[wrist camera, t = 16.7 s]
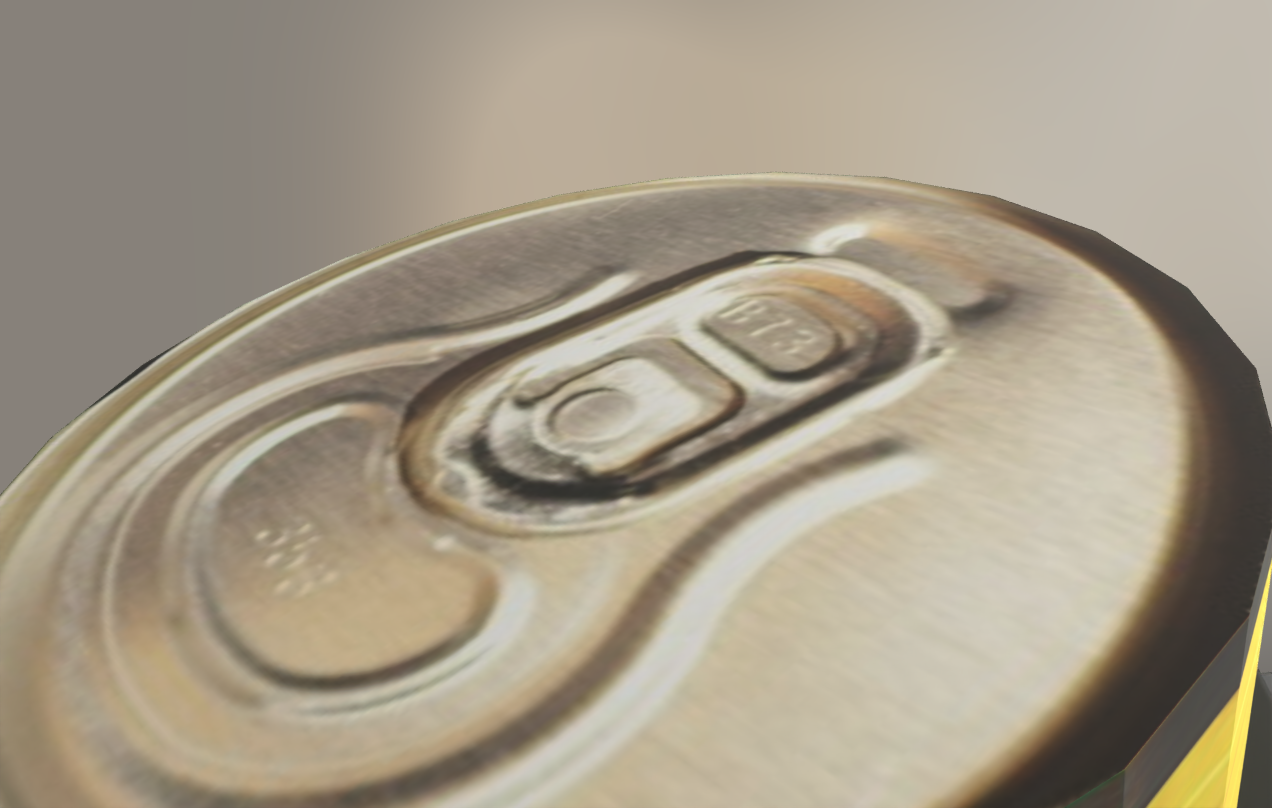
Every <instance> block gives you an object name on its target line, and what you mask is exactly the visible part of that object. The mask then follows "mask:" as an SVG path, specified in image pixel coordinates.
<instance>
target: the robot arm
mask: <svg viewBox="0 0 1272 808" xmlns="http://www.w3.org/2000/svg"><path fill="white" fill-rule="evenodd" d="M1237 808H1272V673H1271V672H1270V673H1260V671H1259V669H1258V667H1257V672H1256V679H1255V686H1254V693H1253V700H1252V706H1251V713H1250V720H1249V727H1248V734H1247V740H1246V747H1245V754H1244V761H1243V768H1242V775H1241V781H1240V788H1239V795H1238V802H1237Z"/></svg>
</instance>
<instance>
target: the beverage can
mask: <svg viewBox="0 0 1272 808" xmlns="http://www.w3.org/2000/svg"><path fill="white" fill-rule="evenodd" d="M1271 570H1272V427H1271V423H1270V420H1269V416H1268V412H1267V408H1266V404H1265V401H1264V397H1263V393H1262V389H1261V385H1260V381H1259V378H1258V374H1257V370H1256V368H1255V367H1254V366H1253V364H1252V363H1251V362H1250V361H1249V360H1248V358H1247V357H1246V356H1245V355H1244V354H1243V353H1242V351H1241V350H1240V349H1239V348H1238V347H1237V346H1236V344H1235V343H1234V342H1233V341H1232V340H1231V338H1230V337H1229V336H1228V335H1227V334H1226V332H1224V330H1223V329H1222V328H1221V327H1220V325H1219V324H1218V323H1217V322H1216V321H1215V319H1214V318H1213V317H1212V316H1211V315H1210V314H1209V312H1208V311H1207V310H1206V309H1205V308H1204V307H1203V305H1202V304H1201V303H1200V302H1199V301H1198V299H1197V298H1196V297H1195V296H1194V295H1193V294H1192V292H1191V291H1190V290H1189V289H1188V288H1187V287H1186V286H1184V285H1182V284H1181V283H1179V282H1178V281H1176V280H1174V279H1173V278H1171V277H1169V276H1168V275H1166V274H1165V273H1163V272H1161V271H1160V270H1158V269H1156V268H1154V267H1153V266H1152V265H1150V264H1148V263H1146V262H1145V261H1143V260H1142V259H1140V258H1139V257H1137V256H1135V255H1133V254H1132V253H1130V252H1129V251H1127V250H1125V249H1124V248H1122V247H1121V246H1119V245H1117V244H1116V243H1114V242H1112V241H1111V240H1109V239H1108V238H1106V237H1104V236H1103V235H1101V234H1099V233H1098V232H1096V231H1093V230H1090V229H1087V228H1085V227H1082V226H1079V225H1076V224H1073V223H1070V222H1067V221H1064V220H1061V219H1058V218H1055V217H1053V216H1050V215H1047V214H1044V213H1041V212H1038V211H1035V210H1032V209H1030V208H1026V207H1023V206H1021V205H1018V204H1015V203H1012V202H1009V201H1006V200H1003V199H1001V198H997V197H995V196H990V195H985V194H979V193H973V192H967V191H962V190H956V189H950V188H945V187H938V186H933V185H927V184H922V183H916V182H910V181H905V180H899V179H893V178H887V177H871V176H850V175H829V174H808V173H787V172H767V173H749V174H732V175H715V176H697V177H681V178H665V179H659V180H653V181H646V182H640V183H633V184H627V185H620V186H614V187H607V188H600V189H594V190H587V191H580V192H574V193H567V194H561V195H556V196H552V197H548V198H544V199H540V200H536V201H532V202H528V203H524V204H520V205H515V206H511V207H507V208H503V209H499V210H495V211H491V212H487V213H483V214H479V215H475V216H471V217H467V218H463V219H459V220H455V221H451V222H448V223H445V224H442V225H440V226H436V227H434V228H431V229H428V230H425V231H422V232H419V233H416V234H413V235H411V236H407V237H405V238H402V239H399V240H396V241H393V242H390V243H388V244H384V245H381V246H378V247H376V248H373V249H370V250H367V251H364V252H361V253H358V254H356V255H352V256H350V257H347V258H344V259H342V260H340V261H338V262H336V263H333V264H331V265H329V266H327V267H325V268H322V269H320V270H318V271H316V272H314V273H311V274H309V275H307V276H305V277H303V278H301V279H299V280H296V281H294V282H292V283H290V284H287V285H285V286H283V287H281V288H279V289H277V290H274V291H272V292H270V293H268V294H266V295H263V296H261V297H259V298H257V299H255V300H253V301H250V302H248V303H246V304H244V305H242V306H240V307H238V308H237V309H235V310H233V311H232V312H230V313H228V314H227V315H225V316H223V317H222V318H220V319H218V320H217V321H215V322H213V323H212V324H210V325H209V326H207V327H205V328H203V329H202V330H200V331H198V332H196V333H195V334H193V335H192V336H190V337H188V338H186V339H185V340H183V341H182V342H180V343H178V344H176V345H175V346H173V347H171V348H170V349H168V350H166V351H165V352H163V353H161V354H160V355H158V356H156V357H155V358H153V359H151V360H150V361H148V362H146V363H145V364H143V365H142V366H140V367H139V368H138V369H137V370H135V371H134V372H133V373H132V374H131V375H129V376H128V377H127V378H125V379H124V380H123V381H122V382H121V383H119V384H118V385H117V386H115V387H114V388H113V389H111V390H110V391H109V392H108V393H106V394H105V395H104V396H103V397H101V398H100V399H99V400H98V401H96V402H95V403H94V404H93V405H91V406H90V407H89V408H88V409H86V410H85V411H84V412H83V413H81V414H80V415H79V416H77V417H76V418H75V419H74V420H73V421H71V422H70V423H69V424H67V425H66V426H65V427H64V428H63V429H61V430H60V431H59V432H57V433H56V434H55V435H54V436H52V437H51V438H50V439H49V440H48V441H47V443H46V444H45V445H44V446H43V447H42V448H41V449H40V451H39V452H38V453H37V454H36V455H35V456H34V457H33V459H32V460H31V461H30V462H29V463H28V464H27V465H26V467H24V469H23V470H22V471H21V472H20V473H19V474H18V475H17V477H16V478H15V479H14V480H13V481H12V482H11V483H10V484H9V486H8V487H7V488H6V489H5V490H4V491H3V493H1V495H0V808H1237V802H1238V795H1239V788H1240V781H1241V775H1242V768H1243V761H1244V754H1245V747H1246V740H1247V734H1248V727H1249V720H1250V713H1251V706H1252V700H1253V693H1254V686H1255V679H1256V672H1257V665H1258V659H1259V651H1260V644H1261V638H1262V631H1263V624H1264V617H1265V610H1266V604H1267V597H1268V590H1269V584H1270V577H1271Z"/></svg>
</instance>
